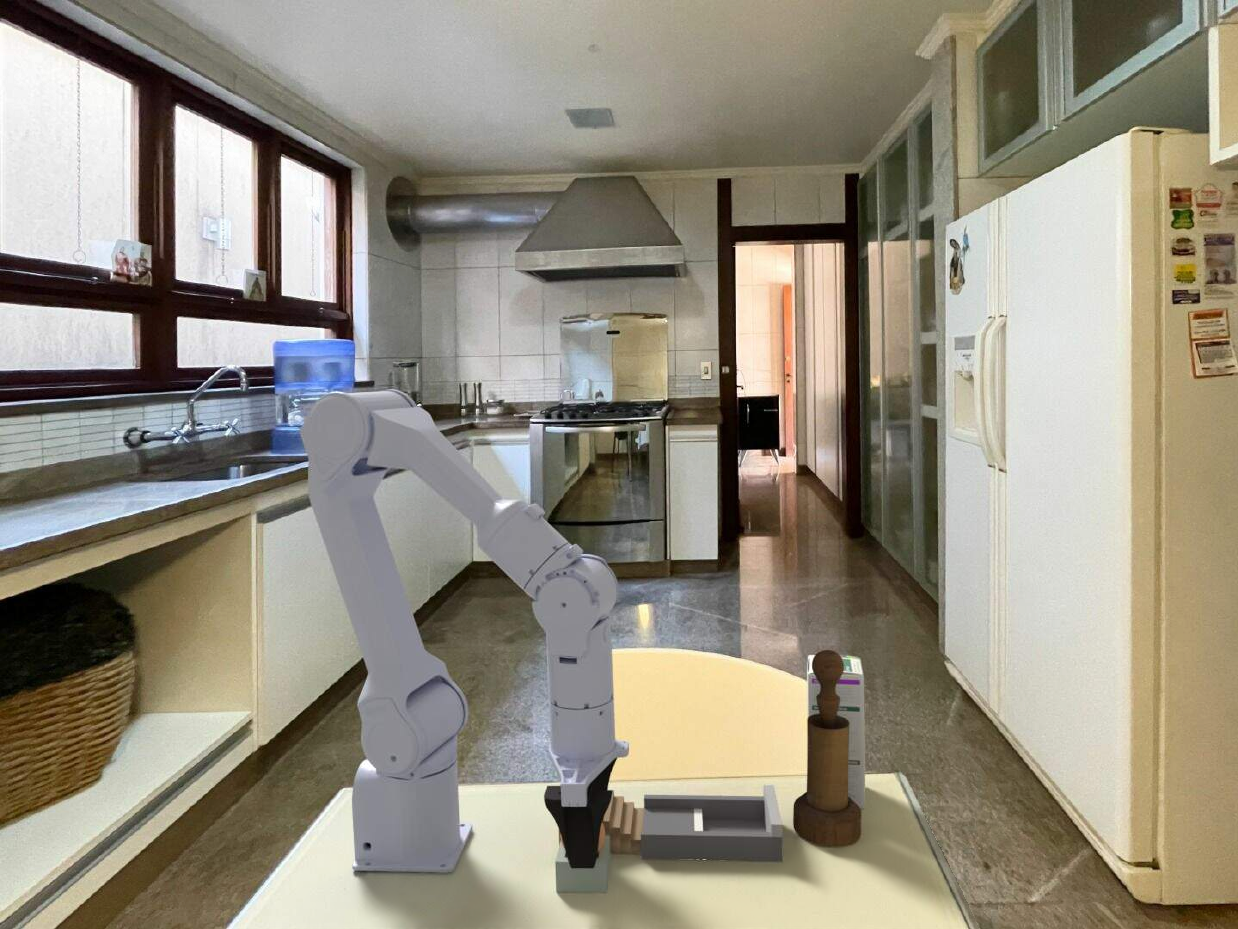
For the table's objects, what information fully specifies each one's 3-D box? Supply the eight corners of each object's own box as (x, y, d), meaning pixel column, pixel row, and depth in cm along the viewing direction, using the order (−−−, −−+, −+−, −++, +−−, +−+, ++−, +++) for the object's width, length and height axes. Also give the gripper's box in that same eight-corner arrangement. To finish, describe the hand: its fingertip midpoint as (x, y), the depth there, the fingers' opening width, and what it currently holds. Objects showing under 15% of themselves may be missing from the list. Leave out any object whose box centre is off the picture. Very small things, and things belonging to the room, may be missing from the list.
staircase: (559, 852, 82) (557, 794, 81) (567, 820, 88) (566, 765, 87) (641, 854, 81) (640, 795, 81) (644, 821, 87) (643, 766, 87)
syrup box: (866, 811, 89) (867, 673, 87) (807, 806, 90) (807, 670, 88) (862, 784, 94) (863, 655, 92) (806, 780, 95) (806, 652, 94)
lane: (641, 859, 81) (640, 822, 80) (644, 817, 88) (644, 783, 88) (782, 861, 80) (782, 824, 79) (773, 819, 87) (773, 785, 87)
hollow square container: (556, 892, 76) (555, 861, 76) (563, 863, 80) (562, 834, 80) (606, 893, 76) (605, 862, 75) (610, 864, 80) (609, 835, 80)
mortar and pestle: (876, 837, 83) (878, 656, 82) (822, 855, 81) (822, 668, 79) (831, 807, 89) (832, 637, 88) (779, 822, 87) (779, 647, 85)
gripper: (620, 731, 68) (626, 893, 70) (631, 668, 83) (636, 804, 84) (532, 731, 69) (540, 892, 70) (558, 669, 83) (564, 804, 85)
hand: (587, 844), depth 77 cm, fingers open, 6 cm apart
